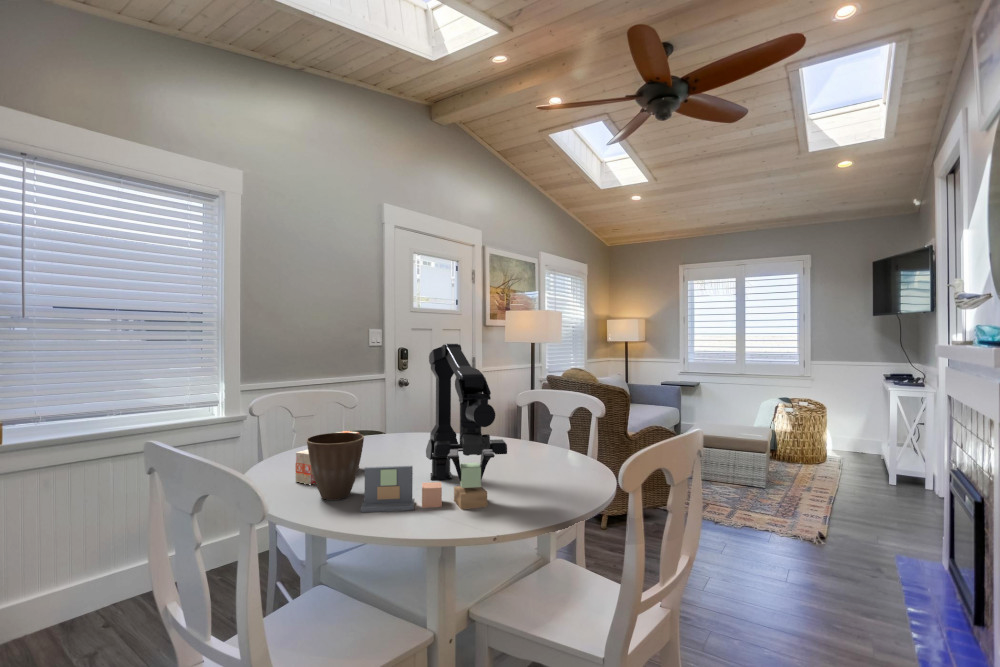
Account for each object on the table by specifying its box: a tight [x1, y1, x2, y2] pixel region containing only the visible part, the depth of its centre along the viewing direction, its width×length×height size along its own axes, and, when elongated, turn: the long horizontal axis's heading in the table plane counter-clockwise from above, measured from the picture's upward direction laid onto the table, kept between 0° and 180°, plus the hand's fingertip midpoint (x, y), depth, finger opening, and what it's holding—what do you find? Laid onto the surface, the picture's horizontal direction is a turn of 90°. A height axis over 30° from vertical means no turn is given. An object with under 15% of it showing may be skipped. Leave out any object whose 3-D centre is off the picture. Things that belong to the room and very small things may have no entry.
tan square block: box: [453, 485, 488, 510], centre depth 133 cm, size 7×7×4 cm
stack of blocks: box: [295, 430, 360, 485], centre depth 160 cm, size 21×6×12 cm, turn 156°
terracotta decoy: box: [421, 481, 443, 509], centre depth 132 cm, size 5×5×5 cm
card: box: [360, 465, 416, 513], centre depth 130 cm, size 6×13×10 cm, turn 98°
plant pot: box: [306, 432, 365, 501], centre depth 139 cm, size 15×15×16 cm
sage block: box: [459, 462, 482, 488], centre depth 133 cm, size 5×5×5 cm
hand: (470, 480), depth 133 cm, fingers closed on sage block, 5 cm apart
